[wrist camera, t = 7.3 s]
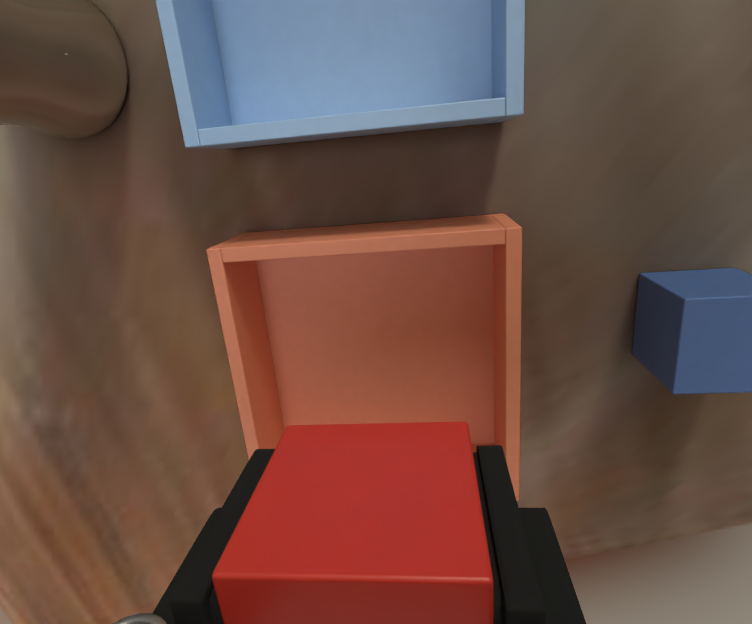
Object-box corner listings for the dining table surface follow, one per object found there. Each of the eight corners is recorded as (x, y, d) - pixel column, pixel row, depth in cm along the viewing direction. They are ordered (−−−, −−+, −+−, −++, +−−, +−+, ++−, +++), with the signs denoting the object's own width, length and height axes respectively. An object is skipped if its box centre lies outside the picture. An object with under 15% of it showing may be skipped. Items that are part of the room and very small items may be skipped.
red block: (468, 419, 10) (495, 580, 6) (471, 565, 11) (495, 773, 7) (286, 423, 10) (208, 575, 7) (309, 562, 12) (255, 757, 8)
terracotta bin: (504, 213, 21) (522, 227, 17) (504, 447, 25) (519, 501, 21) (243, 232, 22) (205, 249, 19) (281, 449, 26) (256, 501, 22)
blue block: (734, 267, 21) (803, 293, 17) (721, 350, 22) (782, 392, 18) (638, 272, 21) (684, 299, 17) (631, 354, 22) (672, 394, 19)
